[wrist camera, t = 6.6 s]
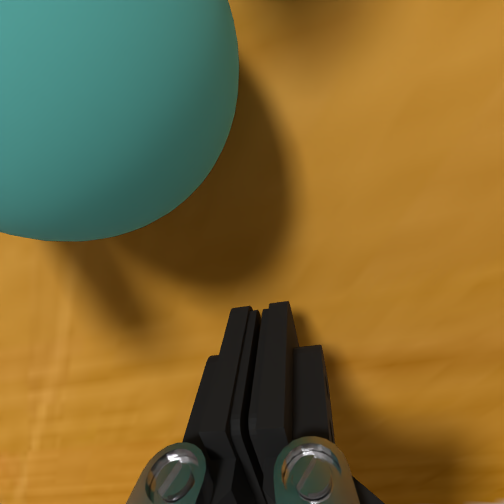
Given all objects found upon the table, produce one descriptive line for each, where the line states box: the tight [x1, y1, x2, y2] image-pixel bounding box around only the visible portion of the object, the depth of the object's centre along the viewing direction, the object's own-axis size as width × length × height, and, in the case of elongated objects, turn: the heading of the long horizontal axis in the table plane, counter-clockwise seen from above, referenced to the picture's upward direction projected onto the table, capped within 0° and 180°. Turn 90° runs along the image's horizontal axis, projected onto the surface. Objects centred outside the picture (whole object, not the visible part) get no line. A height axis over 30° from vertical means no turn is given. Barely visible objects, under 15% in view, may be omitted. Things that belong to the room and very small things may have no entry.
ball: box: [0, 0, 239, 241], centre depth 6 cm, size 6×6×6 cm
